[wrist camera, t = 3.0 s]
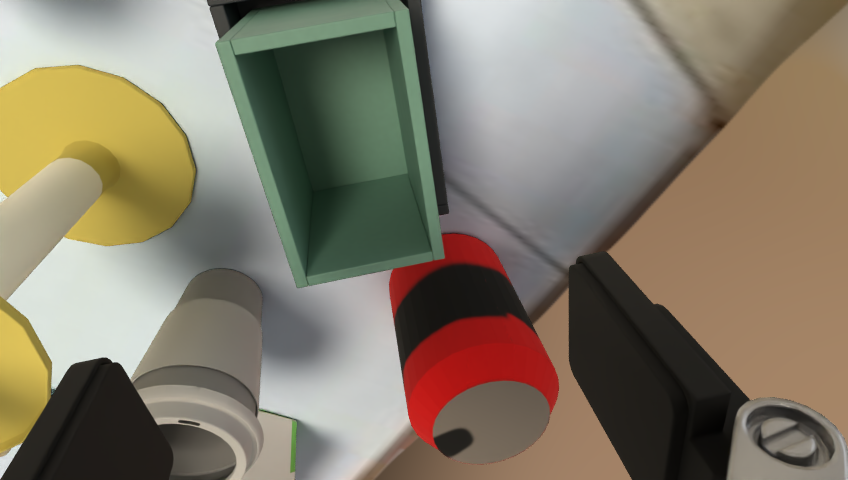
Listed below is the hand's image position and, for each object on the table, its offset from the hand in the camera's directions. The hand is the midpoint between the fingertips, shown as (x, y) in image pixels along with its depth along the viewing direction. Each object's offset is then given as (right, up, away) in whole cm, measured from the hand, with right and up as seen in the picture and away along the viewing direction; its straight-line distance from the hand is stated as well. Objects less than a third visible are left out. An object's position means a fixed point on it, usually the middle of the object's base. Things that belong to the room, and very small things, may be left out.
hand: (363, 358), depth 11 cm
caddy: (-3, +10, +16) cm, 19 cm away
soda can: (+3, 0, +24) cm, 24 cm away
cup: (-11, -1, +22) cm, 25 cm away
